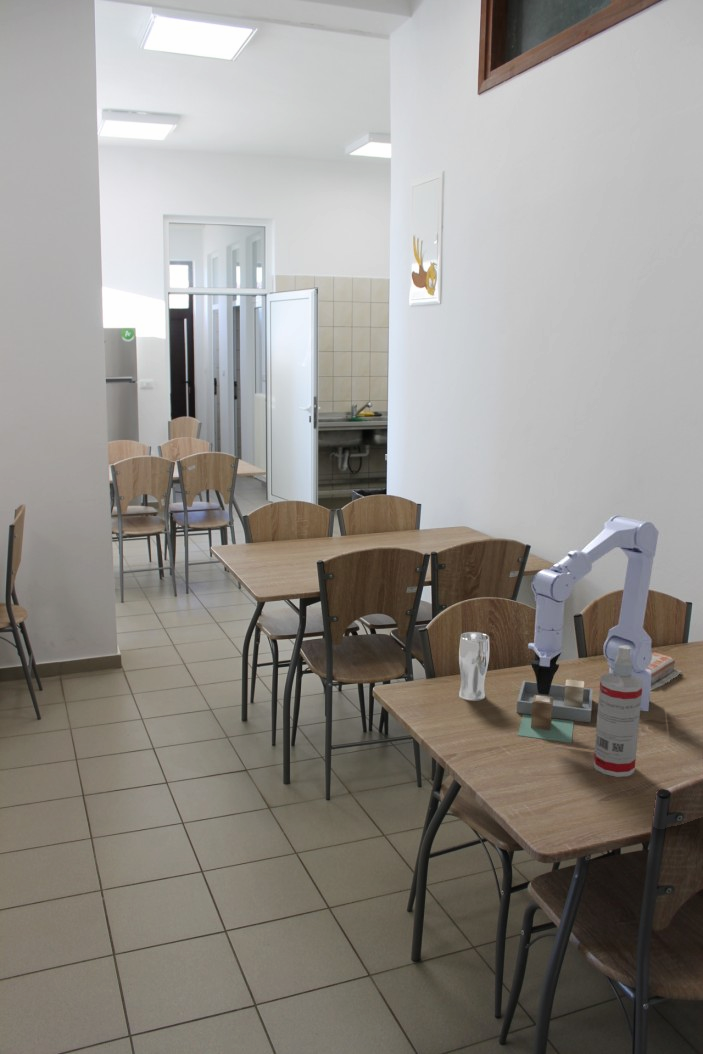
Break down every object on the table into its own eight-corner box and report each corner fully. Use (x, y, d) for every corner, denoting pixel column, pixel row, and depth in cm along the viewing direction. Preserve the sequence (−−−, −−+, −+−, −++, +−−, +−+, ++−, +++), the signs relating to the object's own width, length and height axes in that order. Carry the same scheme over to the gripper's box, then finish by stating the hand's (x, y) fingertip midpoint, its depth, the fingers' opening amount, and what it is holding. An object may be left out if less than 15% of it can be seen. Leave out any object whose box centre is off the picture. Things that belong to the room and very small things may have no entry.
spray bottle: (622, 780, 169) (633, 656, 164) (586, 767, 174) (596, 646, 169) (640, 767, 175) (652, 646, 170) (605, 754, 180) (615, 637, 175)
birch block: (582, 706, 203) (584, 681, 201) (581, 712, 199) (583, 687, 198) (564, 703, 204) (566, 679, 202) (563, 710, 200) (565, 685, 199)
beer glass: (491, 701, 205) (495, 640, 202) (464, 704, 203) (467, 642, 200) (479, 690, 212) (482, 630, 209) (452, 693, 210) (455, 632, 207)
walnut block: (551, 723, 193) (553, 696, 192) (549, 730, 189) (551, 703, 188) (532, 720, 194) (534, 694, 193) (530, 727, 190) (532, 701, 189)
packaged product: (646, 648, 231) (683, 657, 225) (644, 665, 232) (681, 675, 226) (613, 665, 218) (652, 676, 212) (612, 683, 219) (650, 695, 213)
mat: (573, 723, 194) (573, 721, 194) (571, 745, 184) (571, 742, 184) (522, 717, 197) (522, 714, 197) (517, 737, 187) (517, 735, 187)
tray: (591, 702, 206) (592, 689, 206) (590, 724, 194) (591, 710, 193) (522, 693, 211) (522, 680, 210) (516, 714, 198) (517, 701, 198)
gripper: (532, 614, 195) (528, 673, 198) (526, 634, 181) (522, 697, 184) (565, 618, 193) (561, 676, 196) (561, 638, 179) (557, 701, 182)
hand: (544, 687), depth 190 cm, fingers open, 7 cm apart
